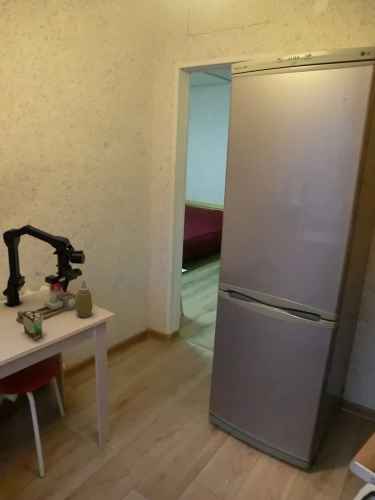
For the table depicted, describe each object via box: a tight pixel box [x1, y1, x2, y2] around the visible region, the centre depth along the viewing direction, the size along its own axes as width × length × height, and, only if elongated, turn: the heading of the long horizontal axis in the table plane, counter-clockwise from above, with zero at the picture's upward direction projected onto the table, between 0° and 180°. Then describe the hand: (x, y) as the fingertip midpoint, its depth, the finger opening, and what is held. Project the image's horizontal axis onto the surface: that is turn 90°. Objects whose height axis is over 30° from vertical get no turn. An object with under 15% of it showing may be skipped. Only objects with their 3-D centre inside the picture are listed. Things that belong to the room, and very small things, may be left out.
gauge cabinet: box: [56, 291, 77, 312], centre depth 180 cm, size 10×6×7 cm, turn 57°
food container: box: [22, 309, 45, 342], centre depth 151 cm, size 12×6×10 cm, turn 48°
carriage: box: [43, 290, 63, 310], centre depth 173 cm, size 7×6×8 cm
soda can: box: [48, 272, 63, 293], centre depth 194 cm, size 7×7×12 cm
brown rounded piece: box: [60, 289, 71, 296], centre depth 179 cm, size 4×4×4 cm
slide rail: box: [15, 305, 67, 326], centre depth 169 cm, size 9×22×4 cm, turn 147°
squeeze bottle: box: [75, 280, 94, 318], centre depth 170 cm, size 8×8×18 cm
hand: (64, 291), depth 178 cm, fingers closed
